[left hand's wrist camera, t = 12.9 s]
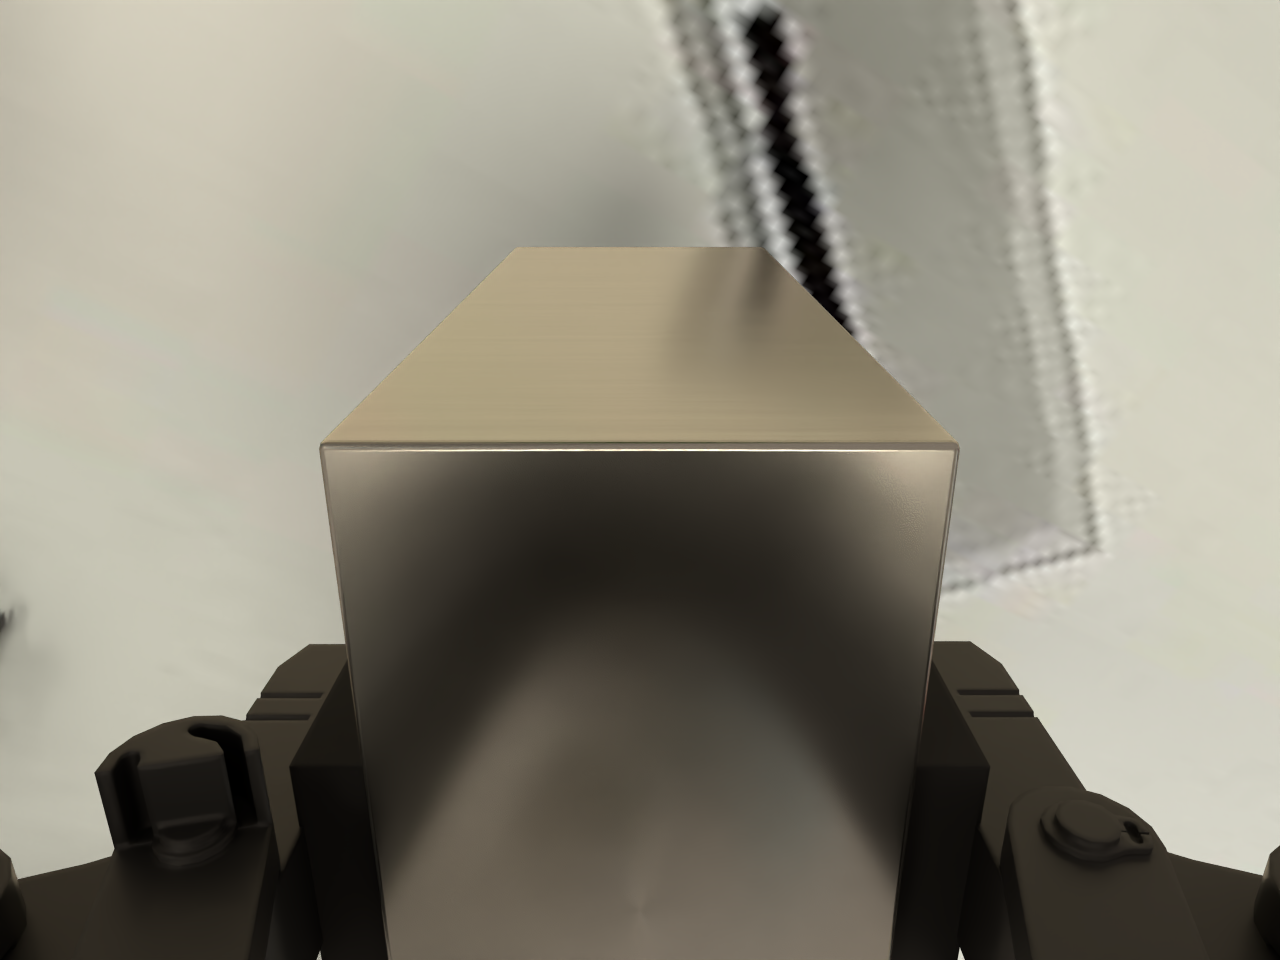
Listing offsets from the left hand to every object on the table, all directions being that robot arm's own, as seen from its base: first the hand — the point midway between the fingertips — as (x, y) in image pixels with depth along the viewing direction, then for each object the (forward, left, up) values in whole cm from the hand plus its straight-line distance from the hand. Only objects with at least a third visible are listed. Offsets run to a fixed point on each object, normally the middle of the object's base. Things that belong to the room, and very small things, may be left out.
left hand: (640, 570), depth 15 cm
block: (0, 0, -5) cm, 5 cm away
